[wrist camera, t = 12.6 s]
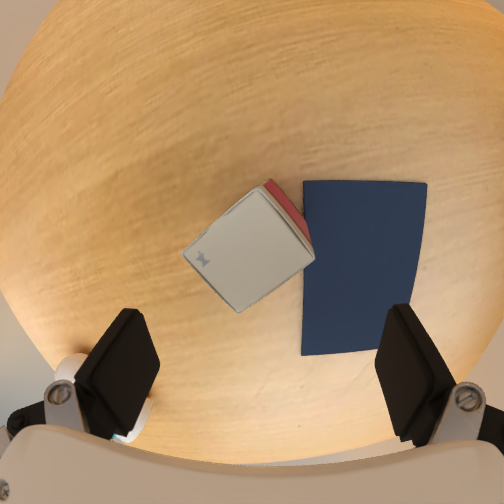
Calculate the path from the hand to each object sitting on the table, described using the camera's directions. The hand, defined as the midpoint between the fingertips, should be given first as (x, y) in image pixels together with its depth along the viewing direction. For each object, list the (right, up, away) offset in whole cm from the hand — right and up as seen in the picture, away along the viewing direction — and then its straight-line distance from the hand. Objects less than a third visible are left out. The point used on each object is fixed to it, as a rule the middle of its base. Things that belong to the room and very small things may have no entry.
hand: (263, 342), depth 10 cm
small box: (0, +6, +10) cm, 12 cm away
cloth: (+9, +1, +12) cm, 15 cm away
